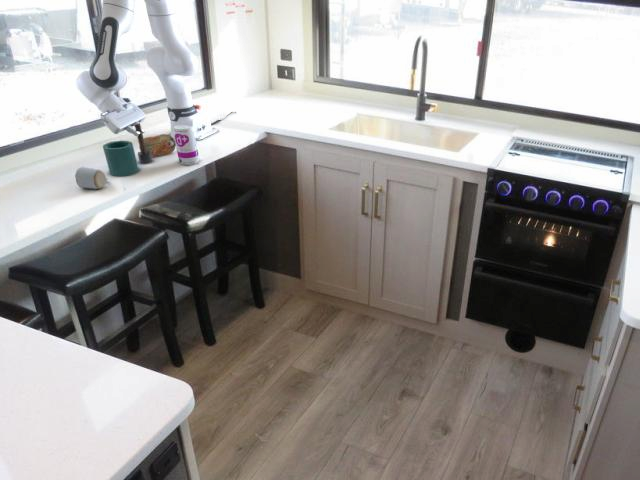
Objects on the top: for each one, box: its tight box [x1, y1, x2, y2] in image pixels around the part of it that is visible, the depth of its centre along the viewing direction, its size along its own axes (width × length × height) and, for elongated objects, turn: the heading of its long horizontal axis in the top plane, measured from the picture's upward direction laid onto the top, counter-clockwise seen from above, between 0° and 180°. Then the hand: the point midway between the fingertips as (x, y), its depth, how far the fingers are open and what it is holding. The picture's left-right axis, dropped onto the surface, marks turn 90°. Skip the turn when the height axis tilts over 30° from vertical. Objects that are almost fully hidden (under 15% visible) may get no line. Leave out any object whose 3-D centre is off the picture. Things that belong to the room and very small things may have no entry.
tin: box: [138, 133, 176, 159], centre depth 249 cm, size 15×3×8 cm, turn 131°
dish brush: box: [134, 123, 153, 165], centre depth 240 cm, size 5×5×16 cm
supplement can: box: [173, 124, 200, 166], centre depth 240 cm, size 8×8×15 cm
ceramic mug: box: [75, 166, 109, 190], centre depth 218 cm, size 11×8×8 cm
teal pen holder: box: [102, 140, 139, 177], centre depth 231 cm, size 11×11×11 cm
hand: (141, 133), depth 237 cm, fingers closed on dish brush, 2 cm apart
